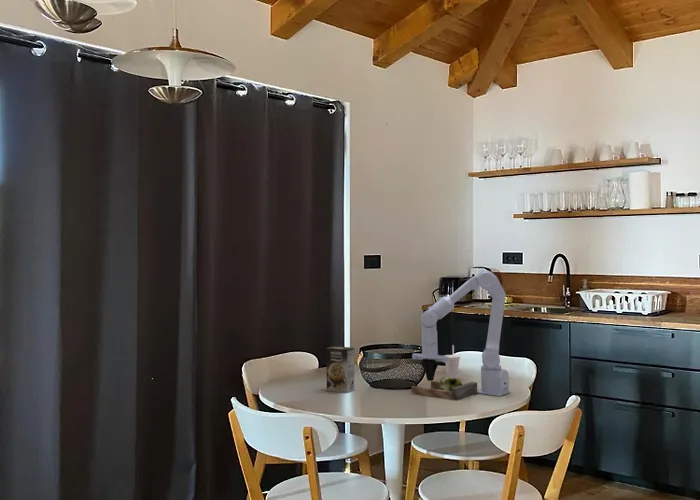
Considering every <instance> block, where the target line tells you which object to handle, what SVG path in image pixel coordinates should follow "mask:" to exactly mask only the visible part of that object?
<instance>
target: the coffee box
mask: <svg viewBox="0 0 700 500" xmlns="http://www.w3.org/2000/svg"><path fill="white" fill-rule="evenodd" d="M325 351H326V352H325V353H326V359H325V361H326V362H325V363H326V364H325V365H326V367H325V368H326V371H325V372H326V373H325V374H326V391H327V392H335V393H344V394H346V393H347V394H348V393H351V392H353V391H355V387H356V386H355V385H356V384H355V347H350V346H333V345H332V346H329V347H326V348H325Z"/></svg>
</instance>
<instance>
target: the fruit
mask: <svg viewBox="0 0 700 500" xmlns="http://www.w3.org/2000/svg"><path fill="white" fill-rule="evenodd" d="M439 382H440V383H441V387H440V389H439V390H445V391H452V389H451V388H454V387H457V386H460V385H463V384H464V383H462V381H460V380H458V378H457V379H456V378H454V377H453V376H447V375H446V376H442V377H441V378H440V379H439Z"/></svg>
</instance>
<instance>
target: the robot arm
mask: <svg viewBox="0 0 700 500" xmlns="http://www.w3.org/2000/svg"><path fill="white" fill-rule="evenodd" d="M480 288H481V289H483V290H485V291H487V293H488V294H489V295H490V297H491V298H492V300H491V307H490V314H489V315H490V316H489V322H488V323H489V324H488V330H487V338H486V342H485V347H484V350H483V351H482V354H481V362H482V365H480V382H481V383H480V384H481V385H480V388H481V389H480V390H477V394H483V395H488V396H495V397H496V396H497V397H501V396H504V395H507V394H510V393H511V391H510V375H509V372H508V370H506V369H503V368H502V365H501V364H500V363H501V358H500V353H499V352H500V342H501V334H502V326H503V319H504V311H505V304H506V303H505V302H506V298H507V295H506V291H505V289H504V287H503V286H502V283H500V281H499V279H498V277H497V276H496V275H495V274H494V273H493V272H492V271H490V270H486V269H485V270H481V271H480V272H479V273H478V274H476V275H474V276H473V277H470V278H469V279H468V280H466V281H465V282H464V283H463V284H462V285H461V286H459V287H458V288H457V289H456V290H455V291H454V292H453V293H451V294H450V295H449V296H442V297H438V298H437V301H436V302H435V303H433V305H429V306H428V307H427V310H425V311H423V313H422V314H421V316H420V322H421V353H415V352H414V353H412V355H411V357H412V358H411V359H412V360H420V365H421V366H422V369H423V370H424V373H425V377H426V380H427V381H429V382H431V381H435V380H434V379H435V374H436V371H437V368H438V366H439V365H440V363H446V362H448V357H447V356H445V355H441V354H439V351H438V350H439V349H438V348H439V347H438V330H437V322H438V320H442V319H443V318H444V317H445V316H446V315H448V314H449V313H451V311H452V310H454V309H455V303H457V302H458V301H459V300H460V299H462V298H463V297H465V296H466V295H467V294H468V293H470V291H474V290H478V289H480ZM421 360H422V361H421Z"/></svg>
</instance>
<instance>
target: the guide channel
mask: <svg viewBox="0 0 700 500" xmlns="http://www.w3.org/2000/svg"><path fill="white" fill-rule="evenodd" d="M462 384H463V385H460V386H457V387H454V388H451V389H452V391H445V390H440V387H441V383H440V380H432V381H430V387H421V386H417V385H416V386H415V385H413V386H411V394H412V395H419V396H426V397H431V398H432V397H433V398H438V399H444V400H451V401H459V400H463V399H465V398H468V397H472V396H474V395H478V393H477V391H478V382H475V381H471V382H467V383H462Z"/></svg>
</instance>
